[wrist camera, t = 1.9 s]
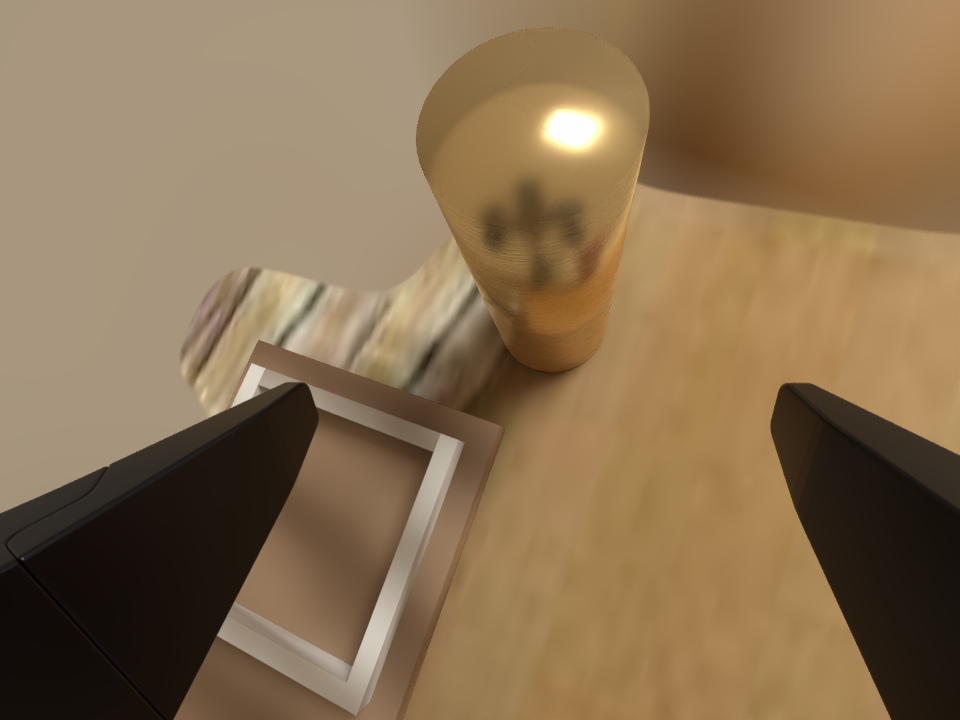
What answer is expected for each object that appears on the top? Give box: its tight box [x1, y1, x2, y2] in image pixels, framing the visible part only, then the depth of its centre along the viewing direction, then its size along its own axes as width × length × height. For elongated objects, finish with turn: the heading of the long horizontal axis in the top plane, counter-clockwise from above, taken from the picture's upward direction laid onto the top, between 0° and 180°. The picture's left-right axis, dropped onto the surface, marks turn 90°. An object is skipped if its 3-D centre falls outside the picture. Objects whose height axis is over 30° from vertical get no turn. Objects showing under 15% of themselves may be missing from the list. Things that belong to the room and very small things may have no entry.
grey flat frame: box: [174, 340, 505, 720], centre depth 19 cm, size 30×13×3 cm, turn 160°
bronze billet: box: [416, 27, 650, 372], centre depth 16 cm, size 5×5×13 cm
